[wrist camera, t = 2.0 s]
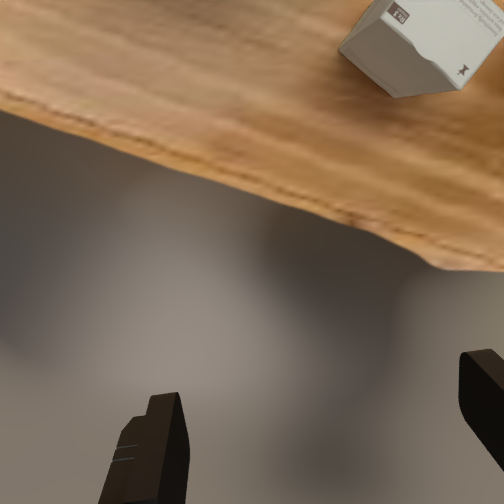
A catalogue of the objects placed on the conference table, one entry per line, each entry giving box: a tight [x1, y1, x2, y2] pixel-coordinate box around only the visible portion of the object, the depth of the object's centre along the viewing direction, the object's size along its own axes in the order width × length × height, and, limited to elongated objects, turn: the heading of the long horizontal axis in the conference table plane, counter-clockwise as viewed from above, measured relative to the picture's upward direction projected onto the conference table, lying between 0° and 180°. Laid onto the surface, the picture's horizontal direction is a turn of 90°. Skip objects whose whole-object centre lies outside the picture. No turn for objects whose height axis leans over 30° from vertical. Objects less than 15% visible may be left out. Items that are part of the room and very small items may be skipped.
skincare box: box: [338, 0, 504, 98], centre depth 38 cm, size 8×6×15 cm
